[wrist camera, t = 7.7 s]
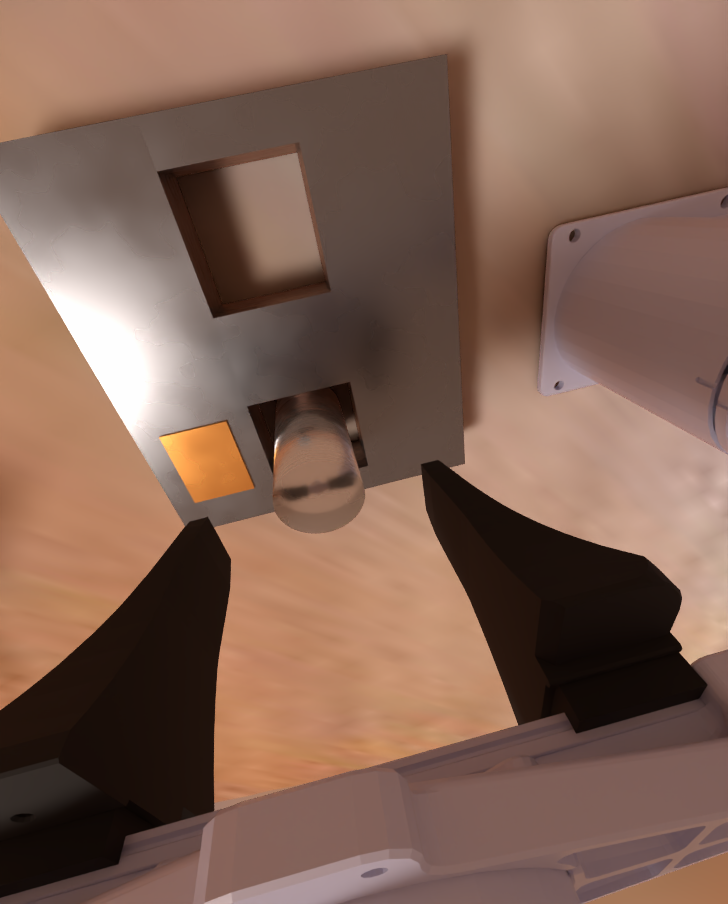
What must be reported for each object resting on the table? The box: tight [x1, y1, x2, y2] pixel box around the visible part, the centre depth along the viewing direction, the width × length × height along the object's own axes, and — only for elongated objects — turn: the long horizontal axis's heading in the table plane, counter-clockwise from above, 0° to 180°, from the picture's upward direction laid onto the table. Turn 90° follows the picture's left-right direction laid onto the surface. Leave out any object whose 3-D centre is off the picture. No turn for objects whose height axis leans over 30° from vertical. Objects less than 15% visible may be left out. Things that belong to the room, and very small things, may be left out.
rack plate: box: [0, 54, 465, 527], centre depth 16 cm, size 14×15×3 cm
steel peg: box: [273, 387, 365, 533], centre depth 17 cm, size 3×3×7 cm
